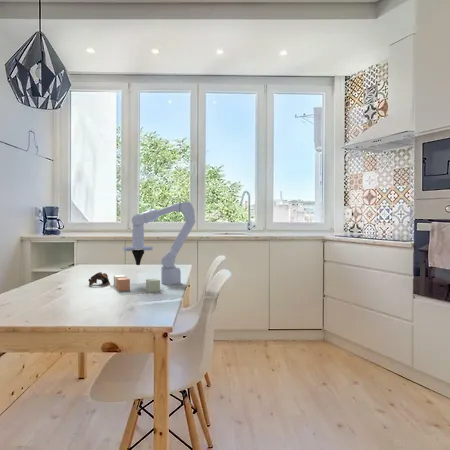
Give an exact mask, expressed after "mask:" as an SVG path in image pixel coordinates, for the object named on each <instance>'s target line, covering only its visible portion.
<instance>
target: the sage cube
mask: <svg viewBox="0 0 450 450" xmlns="http://www.w3.org/2000/svg"><path fill="white" fill-rule="evenodd" d="M145 283H146V290H147V291H148V292H154V293H158V292H157V291H160V289H161V280H160V279H159V278H149V279H148V278H147V279H145Z"/></svg>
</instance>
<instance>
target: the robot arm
mask: <svg viewBox="0 0 450 450" xmlns="http://www.w3.org/2000/svg"><path fill="white" fill-rule="evenodd" d="M173 212H177V213H180V212H181V213H182V215H183V217H184V220H185V223H184V224H183V225H182V228H181V229H180V231H179V233H178V234H177V237H175V240H174V241H173V243H172V245H171V246H170V248H169V250H168V252H167V253H166V254H165V255H164V256H163V257H162V258H161V265H162V266H161V269H160V271H161V275H160V276H161V280H160V285H166V286H167V285H177V284H181V282H182V281H181V280H182V276H181V274H182V273H181V269H180V267H176V265H175V263H176V257H177V255H178V253H179V252H180V250H181V248H182V246H183V245H184V243H185V241H186V240H187V237H188V236H189V234H190V233H191V231H192V229H193V227H194V225H195V224H196V216H195V215H196V214H195V209H194V207H193V204H192V203H191V202H190V201H186V200H185V201H182V202H177V203H173V204H171V205H168V206H166V207H163V208H160V209H155V208H153V209H152V208H149V209H148V210H147V211H144V212H140V213H137V214H135V215H133V216H132V218H131V222H132V230H131V231H132V240H131V242H132V243H131V244H132V245H131V246H124V247H123V248H122V250H123V252H131V253H132V255H133V257H134V260H135V265H136V266H140V265H141V262H142V259H143V256H144V254H145V251H153V248H154V247H153V246H151V245H149V246H148V245H147V246H145V229H144V228H145V227H144V224H148V223H151V222H154V221H157V220H159V218H160V217H161V216H163V215H166V214H170V213H173Z"/></svg>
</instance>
